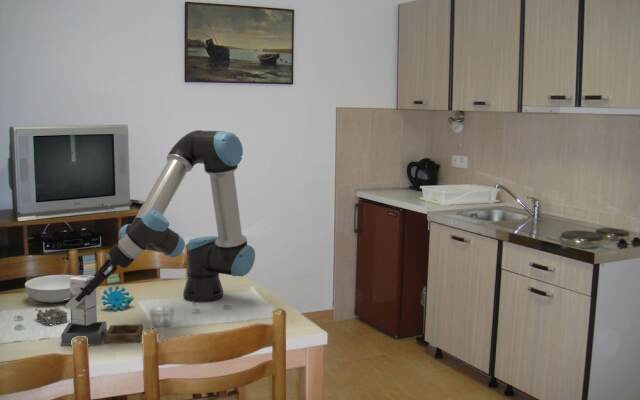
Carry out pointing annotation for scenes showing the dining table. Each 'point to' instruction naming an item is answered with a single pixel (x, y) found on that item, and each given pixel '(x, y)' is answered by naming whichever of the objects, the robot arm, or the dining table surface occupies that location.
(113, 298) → the gear
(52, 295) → the serving bowl
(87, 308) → the syrup box
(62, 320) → the grey lumpy mound
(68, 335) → the dark grey square tray
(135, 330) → the walnut collar
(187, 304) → the dining table surface
